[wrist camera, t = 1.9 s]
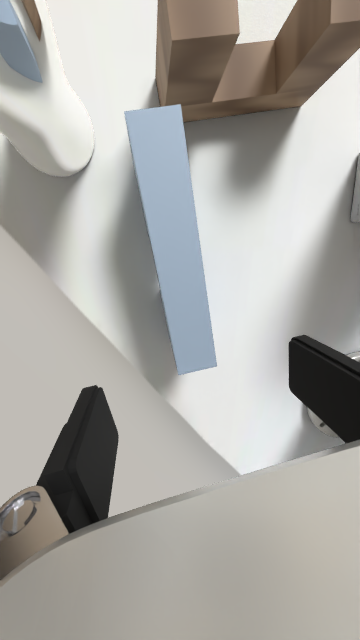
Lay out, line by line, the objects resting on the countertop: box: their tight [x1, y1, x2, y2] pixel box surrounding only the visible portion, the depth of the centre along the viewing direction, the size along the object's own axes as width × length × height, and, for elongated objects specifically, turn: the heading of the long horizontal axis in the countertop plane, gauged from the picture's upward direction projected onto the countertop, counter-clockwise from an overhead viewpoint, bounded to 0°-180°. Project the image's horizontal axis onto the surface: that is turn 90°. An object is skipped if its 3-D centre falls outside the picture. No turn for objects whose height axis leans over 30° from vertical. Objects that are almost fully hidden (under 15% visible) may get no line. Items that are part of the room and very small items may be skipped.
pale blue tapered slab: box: [124, 104, 217, 375], centre depth 17 cm, size 16×3×7 cm, turn 10°
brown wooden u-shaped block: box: [155, 0, 360, 122], centre depth 14 cm, size 12×3×7 cm, turn 100°
